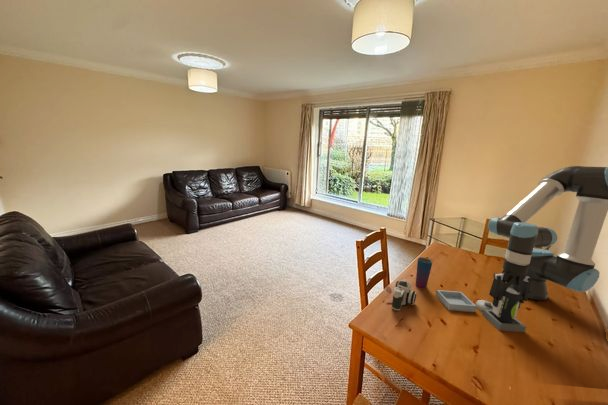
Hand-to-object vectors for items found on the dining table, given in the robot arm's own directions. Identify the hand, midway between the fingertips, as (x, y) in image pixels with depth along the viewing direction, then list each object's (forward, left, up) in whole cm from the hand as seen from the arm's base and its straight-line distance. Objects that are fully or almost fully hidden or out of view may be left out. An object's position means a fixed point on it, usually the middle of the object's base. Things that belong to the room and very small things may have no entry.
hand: (503, 314), depth 101 cm
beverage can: (0, 0, -4) cm, 4 cm away
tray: (+13, -12, -4) cm, 18 cm away
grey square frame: (0, 0, -4) cm, 4 cm away
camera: (+37, -9, -4) cm, 39 cm away
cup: (+23, -25, -4) cm, 34 cm away
